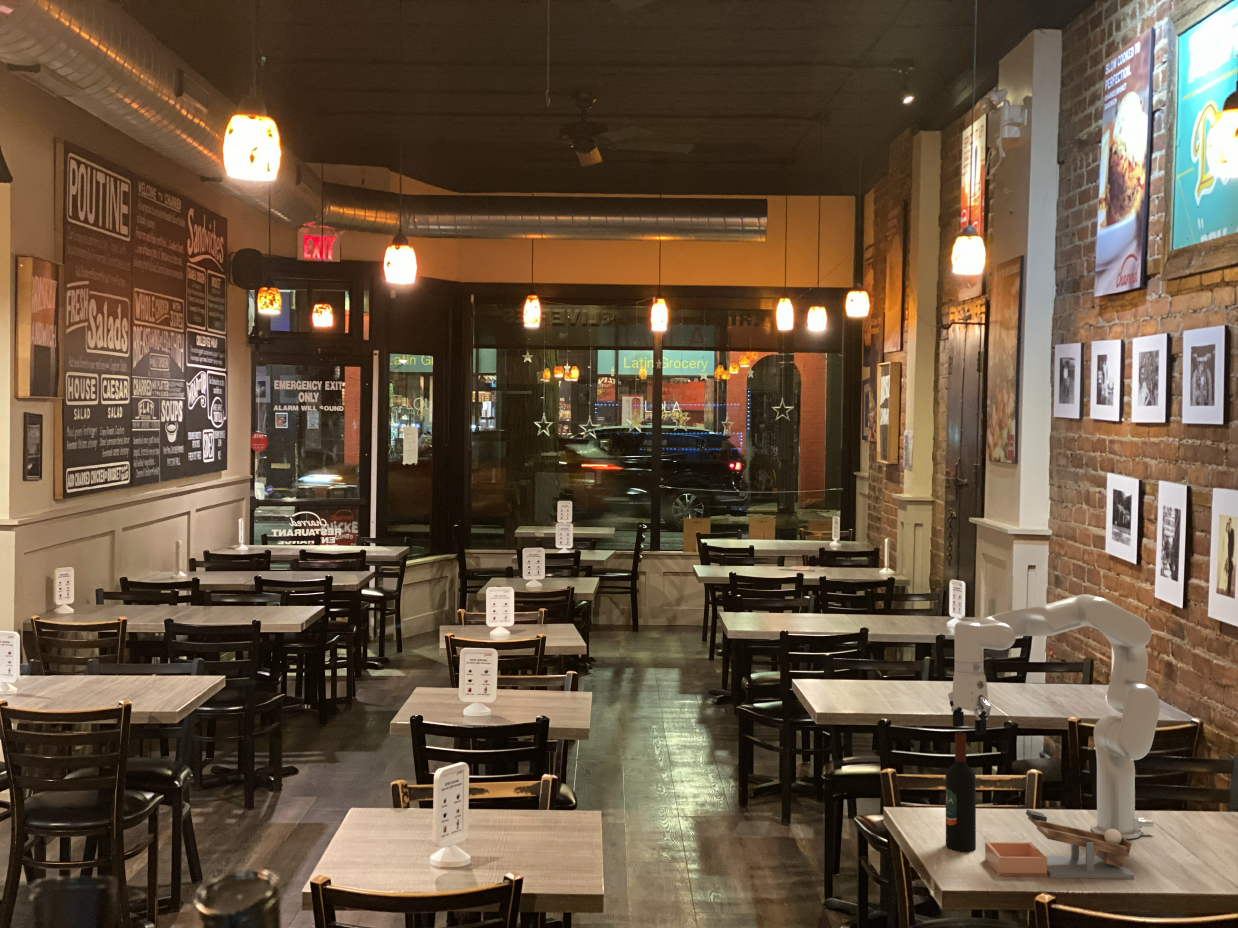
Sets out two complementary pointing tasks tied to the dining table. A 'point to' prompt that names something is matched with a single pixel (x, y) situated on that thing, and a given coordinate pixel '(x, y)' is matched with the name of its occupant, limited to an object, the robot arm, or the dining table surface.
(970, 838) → the wine bottle
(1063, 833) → the lever
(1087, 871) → the stand
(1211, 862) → the dining table surface
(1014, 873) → the pink hollow square tray
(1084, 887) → the dining table surface
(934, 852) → the dining table surface
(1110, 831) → the ball
